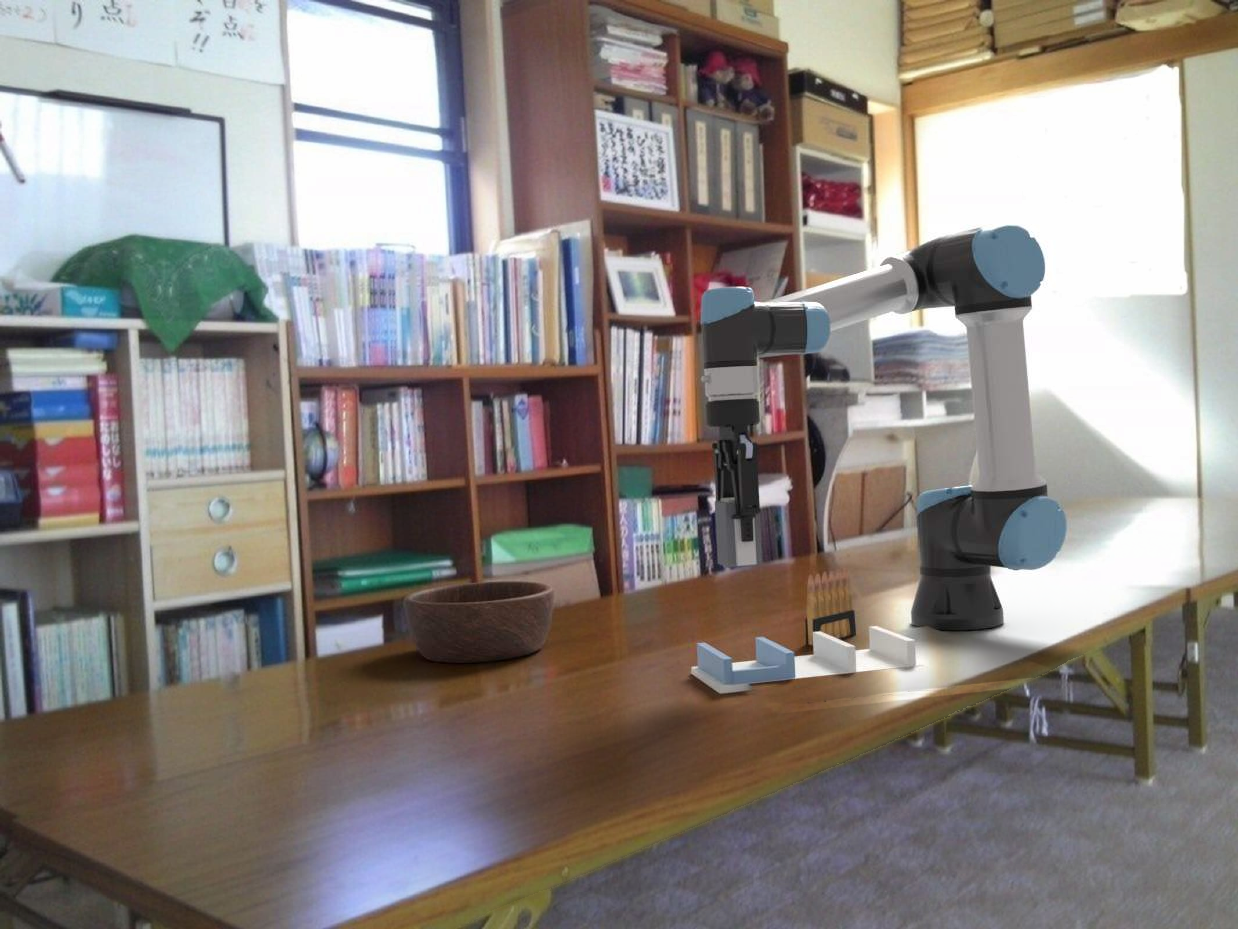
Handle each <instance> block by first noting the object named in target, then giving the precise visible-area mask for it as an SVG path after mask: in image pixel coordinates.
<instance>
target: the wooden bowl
mask: <svg viewBox="0 0 1238 929" xmlns="http://www.w3.org/2000/svg"><path fill="white" fill-rule="evenodd" d="M554 595H555V591H554V588H553V587H552V586H551V585H550V584H548V583H542V582H535V581H518V580H517V581H513V580H509V581H508V580H506V581H482V582H469V583H467V582H466V583H458V584H449V585H443V586H437V587H436V586H435V587H431V588H425V589H422V590H417V591H414V592H411V593H409V594H407V595H405V597H404V599H403V608H404V613H405V618H406V623H407V627H408V630H409V634H410V637H411V639H412V642H413V644H414V646H415V648H416V649H417V651H418V652H419V654H420V655H421V656H422V657H423V658H424V659H426V660H427V661H428V660H429V661H433V662H438V663H447V664H449V663H450V664H451V663H452V664H472V663H489V662H498V661H505V660H511V659H515V658H516V659H517V658H521V657H525V656H528V655H530V654H533V653H536V652H537V651H539V650H540V649H541V648H542V647H543V645H544V643H545V642H546V640H547V637H548V635H549V632H550V629H551V625H552V620H553V619H552V618H553V611H554V598H555V596H554Z"/></svg>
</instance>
